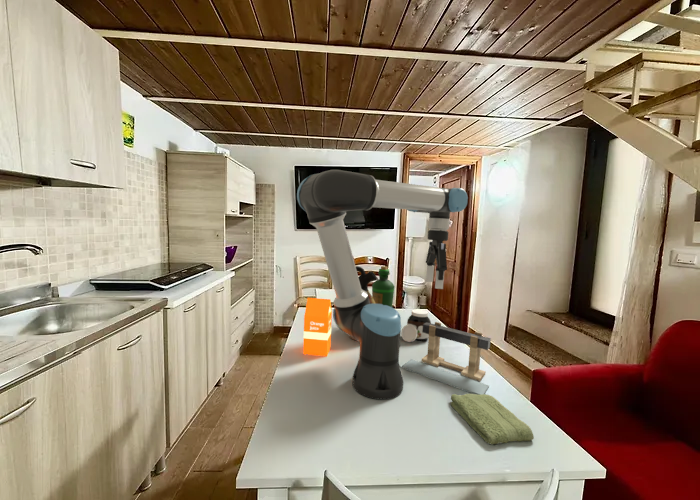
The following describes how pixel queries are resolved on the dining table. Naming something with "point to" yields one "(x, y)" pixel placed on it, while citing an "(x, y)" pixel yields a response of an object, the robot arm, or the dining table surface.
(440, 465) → the dining table surface
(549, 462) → the dining table surface
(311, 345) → the orange juice
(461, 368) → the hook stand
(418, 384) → the dining table surface
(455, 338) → the steel bar
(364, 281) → the ceramic jug
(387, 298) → the bottle
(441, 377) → the slate mat
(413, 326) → the spread jar
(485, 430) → the washcloth
